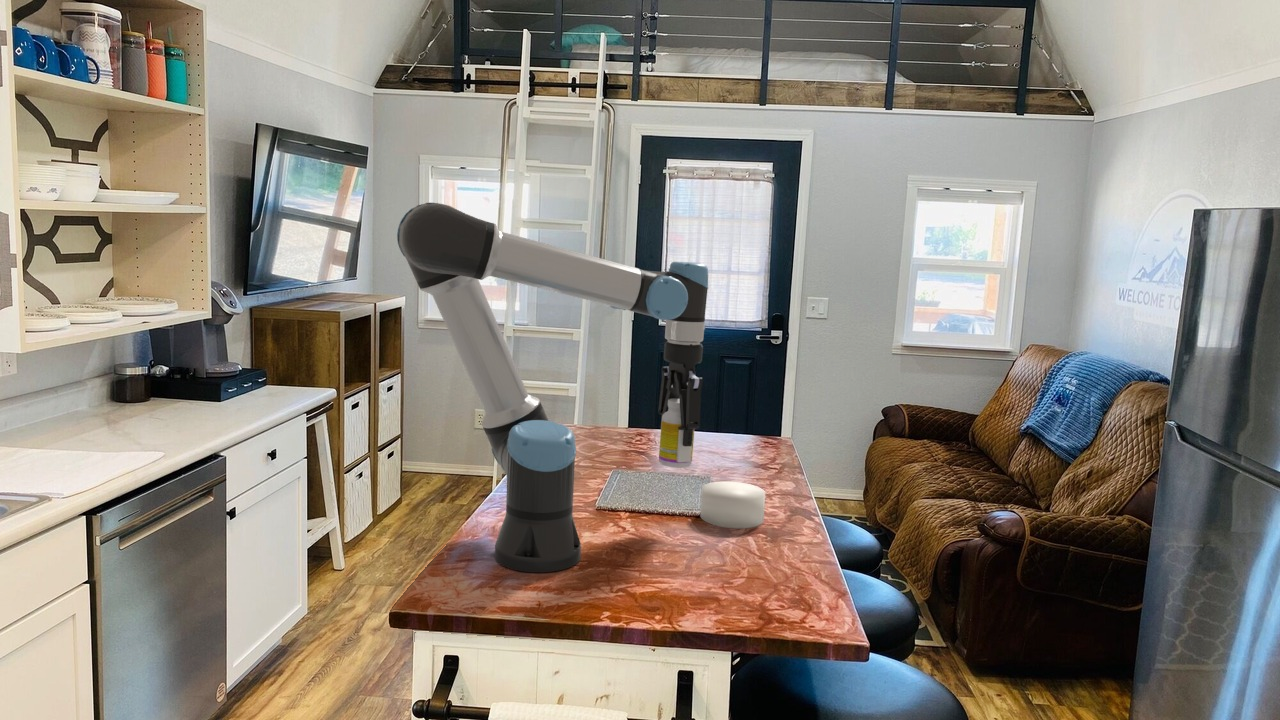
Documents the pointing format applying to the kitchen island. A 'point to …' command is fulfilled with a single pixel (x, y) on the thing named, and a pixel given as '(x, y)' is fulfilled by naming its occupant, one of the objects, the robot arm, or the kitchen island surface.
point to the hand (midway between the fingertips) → (675, 456)
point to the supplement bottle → (671, 436)
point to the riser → (732, 504)
